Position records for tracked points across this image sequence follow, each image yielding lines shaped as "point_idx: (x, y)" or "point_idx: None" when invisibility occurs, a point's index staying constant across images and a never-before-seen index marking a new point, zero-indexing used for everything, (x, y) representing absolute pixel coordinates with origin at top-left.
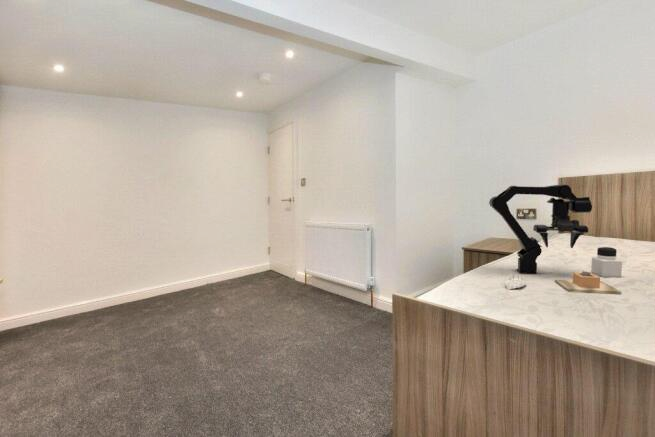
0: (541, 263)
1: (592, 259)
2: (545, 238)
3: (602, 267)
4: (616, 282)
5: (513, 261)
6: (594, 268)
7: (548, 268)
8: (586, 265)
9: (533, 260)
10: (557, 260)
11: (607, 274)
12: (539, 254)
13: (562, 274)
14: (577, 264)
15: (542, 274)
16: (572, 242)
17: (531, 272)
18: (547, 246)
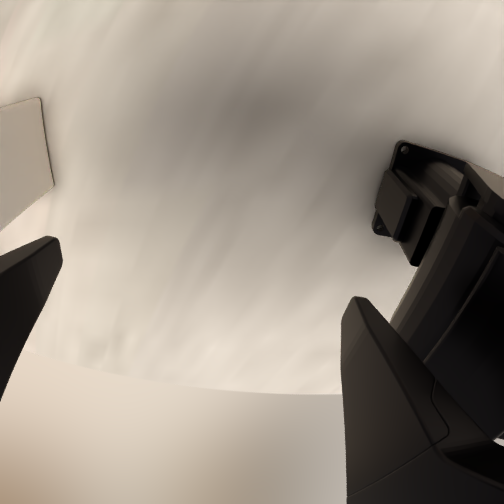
0: (226, 348)
1: (3, 216)
2: (449, 410)
3: (2, 111)
4: (34, 3)
5: (339, 377)
6: (31, 170)
7: (240, 265)
8: (51, 299)
9: (480, 168)
10: (137, 372)
11: (13, 104)
12: (455, 202)
13: (227, 124)
14: (78, 316)
15: (365, 129)
16: (4, 278)
17: (428, 154)
18: (361, 304)
